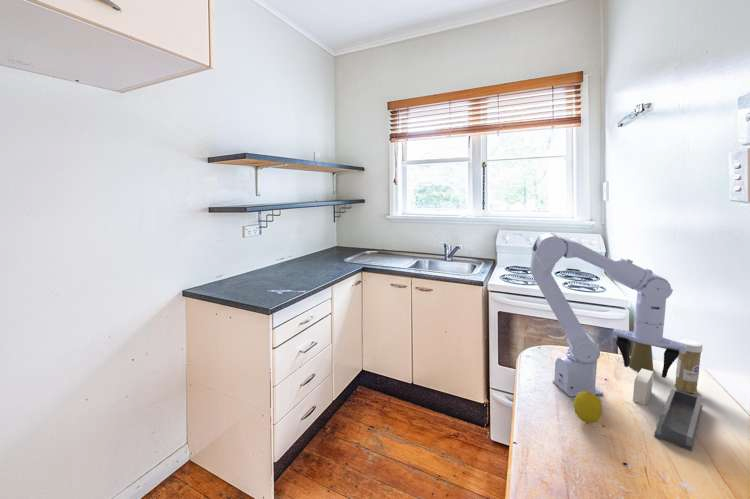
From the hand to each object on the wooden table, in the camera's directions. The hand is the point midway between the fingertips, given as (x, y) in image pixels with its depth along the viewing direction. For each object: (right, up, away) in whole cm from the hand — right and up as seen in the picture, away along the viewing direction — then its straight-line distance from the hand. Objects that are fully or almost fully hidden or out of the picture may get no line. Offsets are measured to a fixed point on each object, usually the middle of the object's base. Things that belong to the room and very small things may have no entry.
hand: (644, 370), depth 86 cm
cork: (+11, -5, +15) cm, 20 cm away
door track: (+1, -9, -9) cm, 13 cm away
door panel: (0, -7, +1) cm, 7 cm away
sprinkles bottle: (+14, -7, +4) cm, 16 cm away
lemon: (-20, -9, -8) cm, 24 cm away
